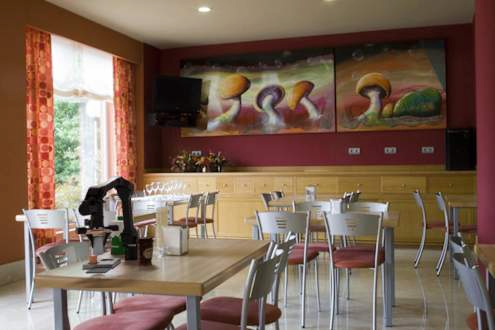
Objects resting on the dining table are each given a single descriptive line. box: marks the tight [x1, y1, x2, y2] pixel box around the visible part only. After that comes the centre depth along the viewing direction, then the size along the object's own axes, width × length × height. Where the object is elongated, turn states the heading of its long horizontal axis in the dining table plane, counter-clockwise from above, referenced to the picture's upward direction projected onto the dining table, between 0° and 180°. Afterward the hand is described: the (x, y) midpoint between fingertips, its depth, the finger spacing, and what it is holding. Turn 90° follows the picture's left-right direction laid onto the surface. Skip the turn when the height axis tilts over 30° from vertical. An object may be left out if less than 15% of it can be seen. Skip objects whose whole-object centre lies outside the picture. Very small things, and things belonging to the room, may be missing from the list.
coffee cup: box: [136, 236, 155, 266], centre depth 262 cm, size 9×8×13 cm
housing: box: [82, 257, 122, 270], centre depth 262 cm, size 14×16×2 cm
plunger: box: [88, 254, 98, 264], centre depth 258 cm, size 4×4×4 cm
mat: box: [85, 268, 112, 274], centre depth 248 cm, size 9×9×1 cm
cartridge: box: [92, 234, 104, 256], centre depth 249 cm, size 5×5×8 cm
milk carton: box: [108, 215, 126, 256], centre depth 296 cm, size 9×9×20 cm
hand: (98, 247), depth 248 cm, fingers closed on cartridge, 5 cm apart
